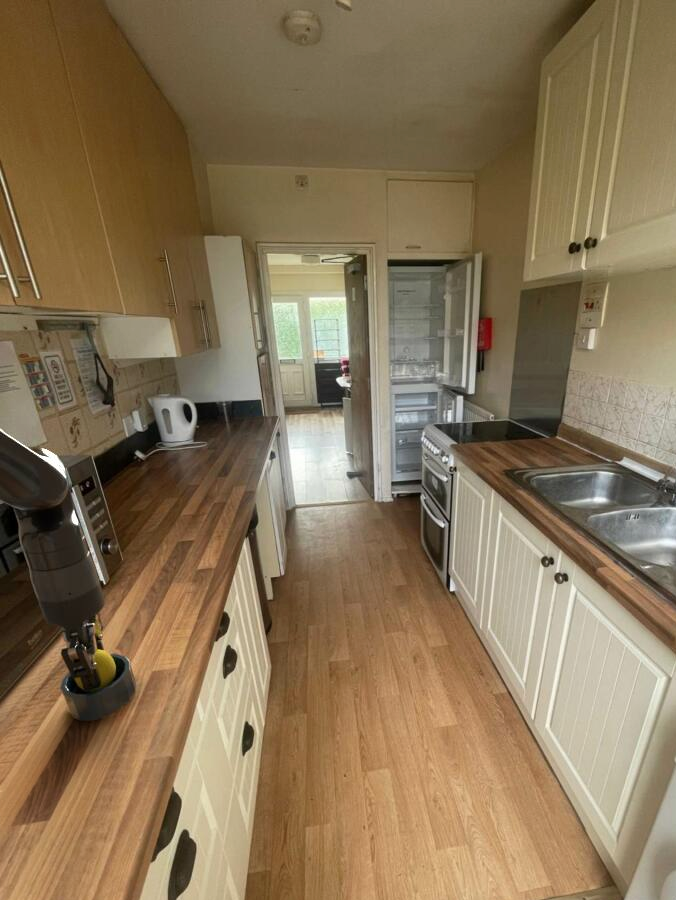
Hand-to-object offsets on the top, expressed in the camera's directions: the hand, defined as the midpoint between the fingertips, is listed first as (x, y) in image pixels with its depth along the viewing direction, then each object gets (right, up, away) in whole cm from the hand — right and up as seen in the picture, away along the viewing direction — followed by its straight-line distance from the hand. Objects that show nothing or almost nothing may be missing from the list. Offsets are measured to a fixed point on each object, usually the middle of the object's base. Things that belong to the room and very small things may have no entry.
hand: (95, 673), depth 69 cm
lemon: (0, -3, +1) cm, 4 cm away
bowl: (0, -5, +2) cm, 6 cm away
